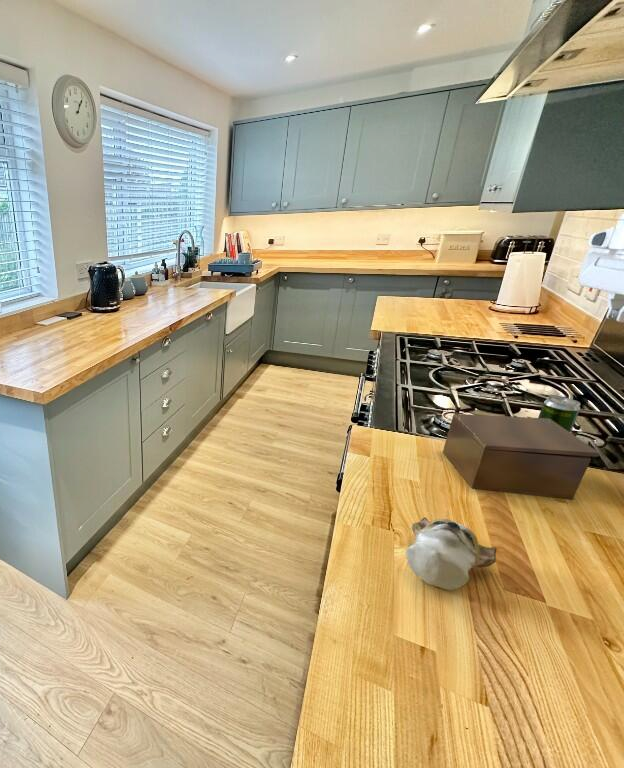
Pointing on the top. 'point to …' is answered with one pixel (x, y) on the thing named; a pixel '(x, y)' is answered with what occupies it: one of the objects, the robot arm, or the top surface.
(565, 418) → the beer can
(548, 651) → the top surface
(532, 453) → the keepsake box
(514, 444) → the box lid
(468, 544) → the ceramic sculpture
